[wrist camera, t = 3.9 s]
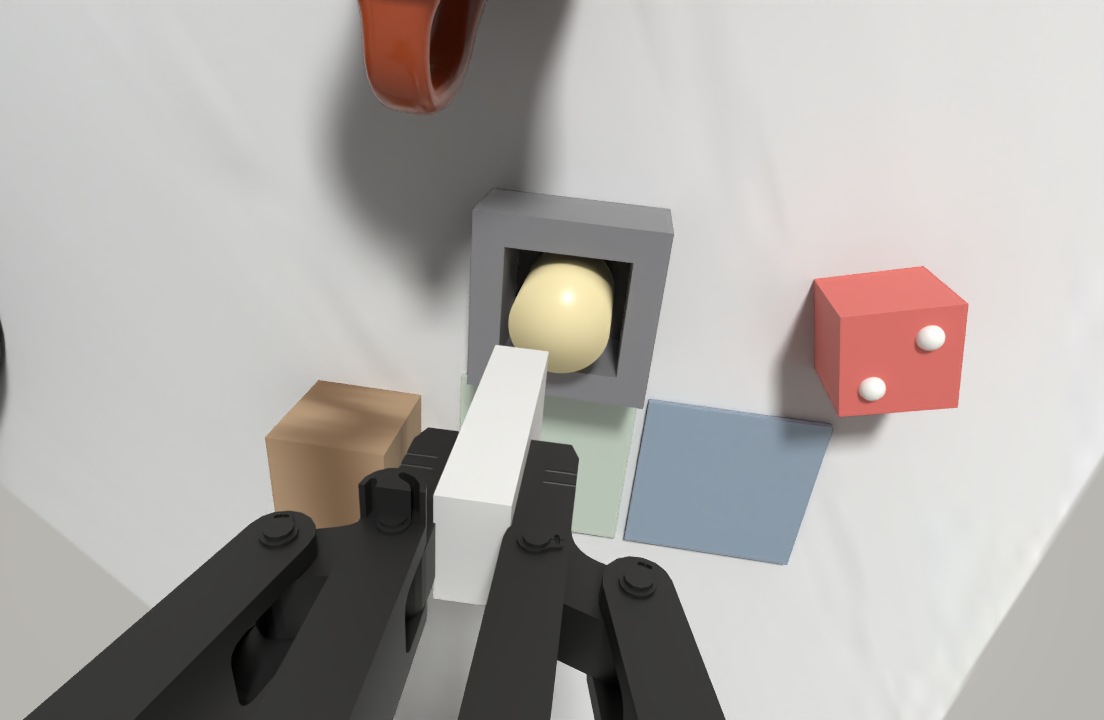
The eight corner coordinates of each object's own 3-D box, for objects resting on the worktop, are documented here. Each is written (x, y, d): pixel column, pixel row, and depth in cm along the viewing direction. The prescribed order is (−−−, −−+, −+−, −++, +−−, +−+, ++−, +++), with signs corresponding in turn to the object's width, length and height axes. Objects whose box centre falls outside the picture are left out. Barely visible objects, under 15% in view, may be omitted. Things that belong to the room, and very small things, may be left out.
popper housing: (485, 346, 29) (466, 384, 26) (493, 188, 26) (472, 209, 23) (643, 368, 28) (642, 408, 25) (670, 209, 25) (673, 233, 22)
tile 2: (624, 535, 33) (624, 539, 32) (649, 399, 29) (649, 402, 29) (785, 560, 32) (787, 564, 32) (831, 424, 28) (833, 428, 28)
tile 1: (459, 510, 33) (457, 513, 33) (463, 373, 30) (461, 376, 29) (614, 534, 33) (614, 538, 32) (638, 397, 29) (637, 400, 29)
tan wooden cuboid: (326, 464, 33) (277, 530, 29) (319, 379, 31) (264, 437, 27) (421, 479, 33) (387, 548, 28) (421, 394, 31) (383, 455, 26)
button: (523, 323, 27) (505, 366, 24) (529, 240, 26) (511, 273, 22) (608, 334, 27) (603, 379, 24) (620, 251, 26) (616, 286, 22)
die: (814, 367, 28) (842, 423, 24) (813, 278, 26) (844, 322, 22) (916, 357, 27) (963, 414, 23) (922, 265, 25) (974, 308, 21)
